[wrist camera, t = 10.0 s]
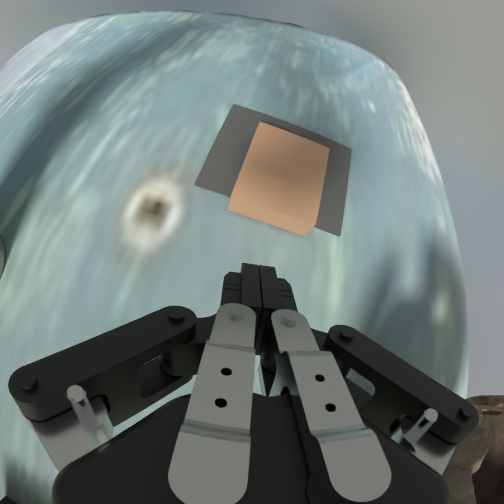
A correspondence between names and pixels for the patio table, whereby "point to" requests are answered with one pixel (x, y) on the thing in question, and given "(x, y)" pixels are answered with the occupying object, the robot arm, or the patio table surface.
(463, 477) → the clay pot
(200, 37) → the patio table surface
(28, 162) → the patio table surface
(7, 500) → the ammunition clip
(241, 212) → the peach block
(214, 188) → the charcoal mat
